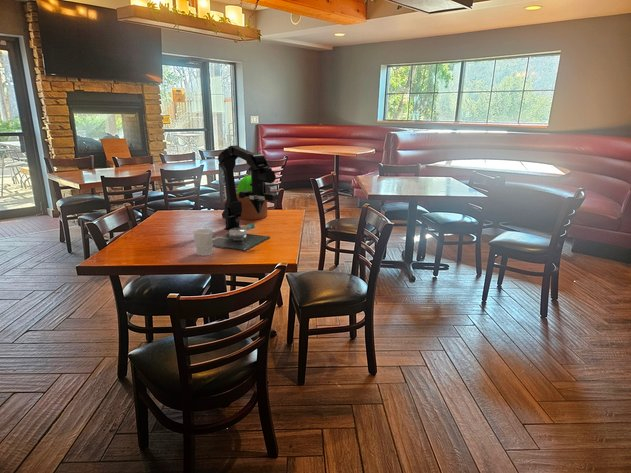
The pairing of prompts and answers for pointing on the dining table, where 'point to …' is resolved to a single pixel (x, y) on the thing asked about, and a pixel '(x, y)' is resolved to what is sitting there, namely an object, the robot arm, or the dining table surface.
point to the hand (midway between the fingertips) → (258, 213)
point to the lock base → (239, 242)
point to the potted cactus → (249, 202)
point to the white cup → (203, 241)
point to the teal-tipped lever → (240, 231)
